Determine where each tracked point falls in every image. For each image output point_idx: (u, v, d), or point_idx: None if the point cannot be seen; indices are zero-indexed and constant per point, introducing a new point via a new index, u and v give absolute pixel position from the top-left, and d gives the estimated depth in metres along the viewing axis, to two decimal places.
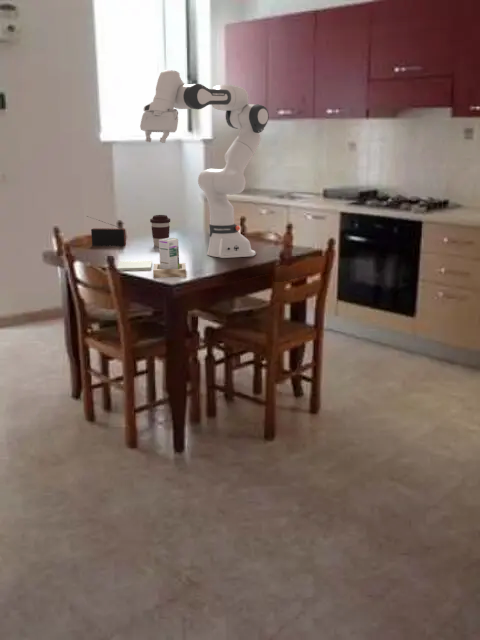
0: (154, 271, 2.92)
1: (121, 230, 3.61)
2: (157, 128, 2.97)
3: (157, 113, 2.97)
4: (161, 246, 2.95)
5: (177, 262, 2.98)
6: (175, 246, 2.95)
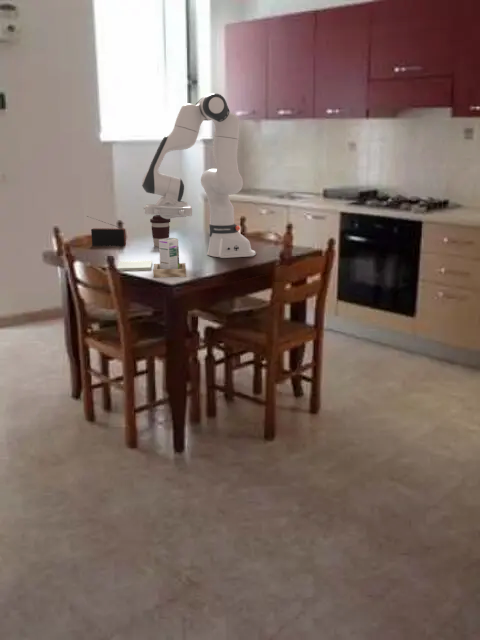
0: (154, 271, 2.92)
1: (121, 230, 3.61)
2: (164, 214, 3.12)
3: (164, 215, 3.18)
4: (161, 246, 2.95)
5: (177, 262, 2.98)
6: (175, 246, 2.95)
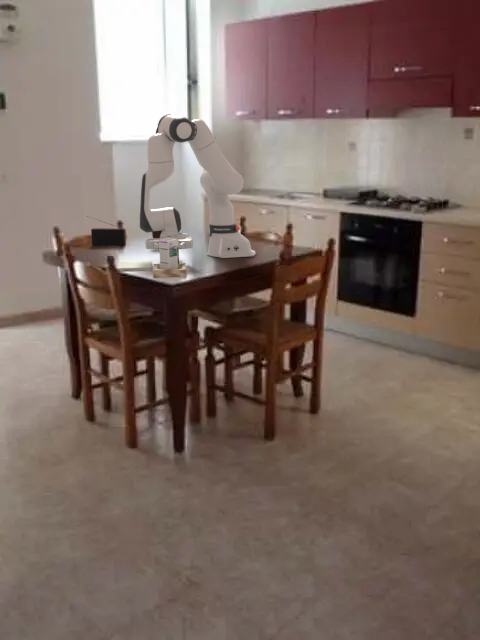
0: (154, 271, 2.92)
1: (121, 230, 3.61)
2: None
3: None
4: (161, 246, 2.95)
5: (177, 262, 2.98)
6: (175, 246, 2.95)
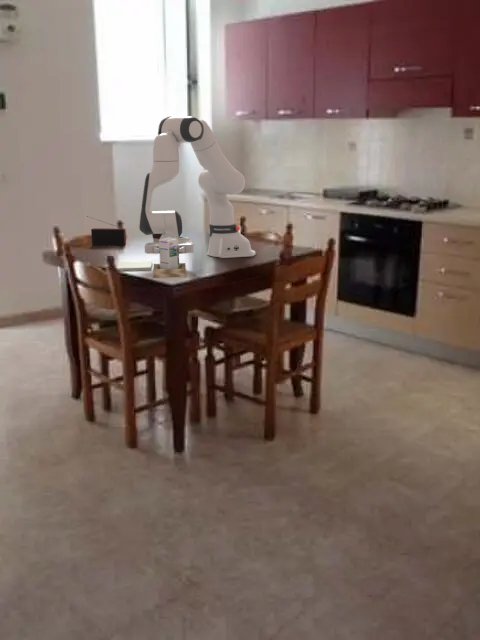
0: (154, 271, 2.92)
1: (121, 230, 3.61)
2: None
3: None
4: (161, 246, 2.95)
5: (177, 262, 2.98)
6: (175, 246, 2.95)
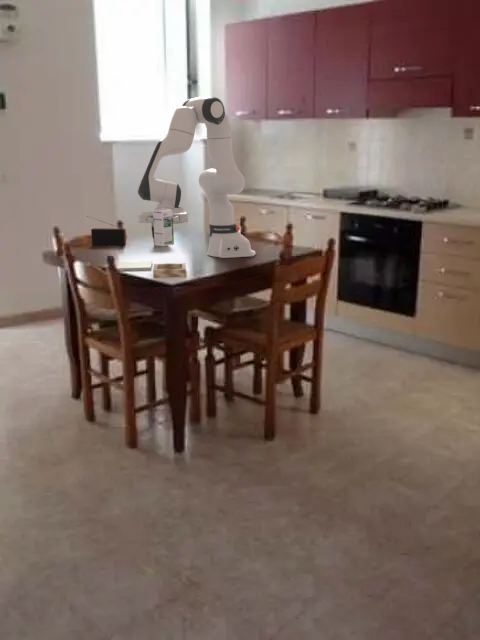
0: (154, 271, 2.92)
1: (121, 230, 3.61)
2: None
3: None
4: (155, 216, 2.94)
5: (171, 233, 2.96)
6: (169, 217, 2.94)
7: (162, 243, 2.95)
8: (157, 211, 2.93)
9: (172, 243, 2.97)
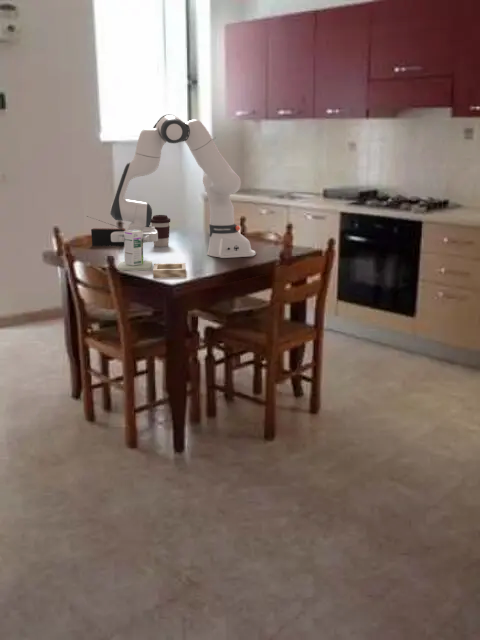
0: (154, 271, 2.92)
1: (121, 230, 3.61)
2: None
3: None
4: (126, 237, 3.08)
5: (141, 253, 3.10)
6: (139, 238, 3.08)
7: (131, 263, 3.09)
8: (128, 232, 3.07)
9: (141, 263, 3.12)
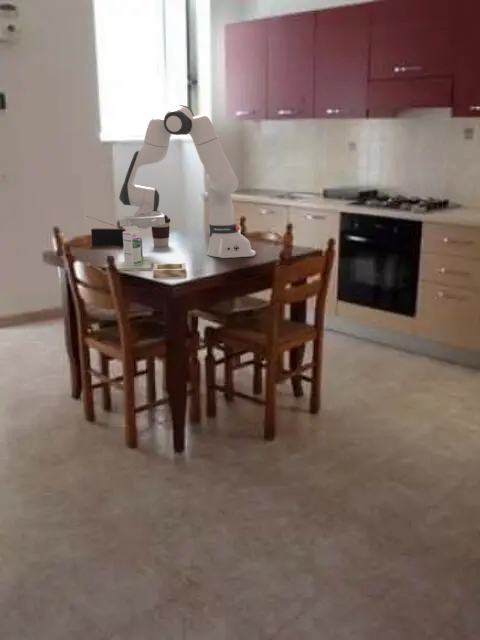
0: (154, 271, 2.92)
1: (121, 230, 3.61)
2: (138, 225, 3.25)
3: None
4: (125, 237, 3.08)
5: (140, 253, 3.10)
6: (138, 238, 3.08)
7: (131, 263, 3.09)
8: (126, 233, 3.07)
9: (141, 263, 3.12)
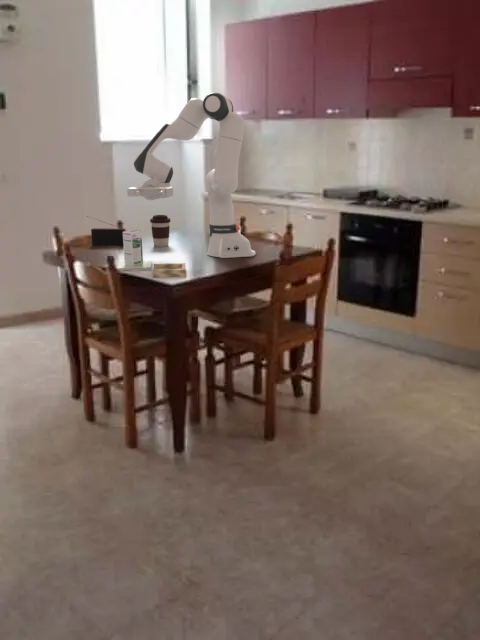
0: (154, 271, 2.92)
1: (121, 230, 3.61)
2: (146, 196, 3.22)
3: (148, 197, 3.28)
4: (125, 237, 3.08)
5: (140, 253, 3.10)
6: (138, 238, 3.08)
7: (131, 263, 3.09)
8: (126, 233, 3.07)
9: (141, 263, 3.12)
